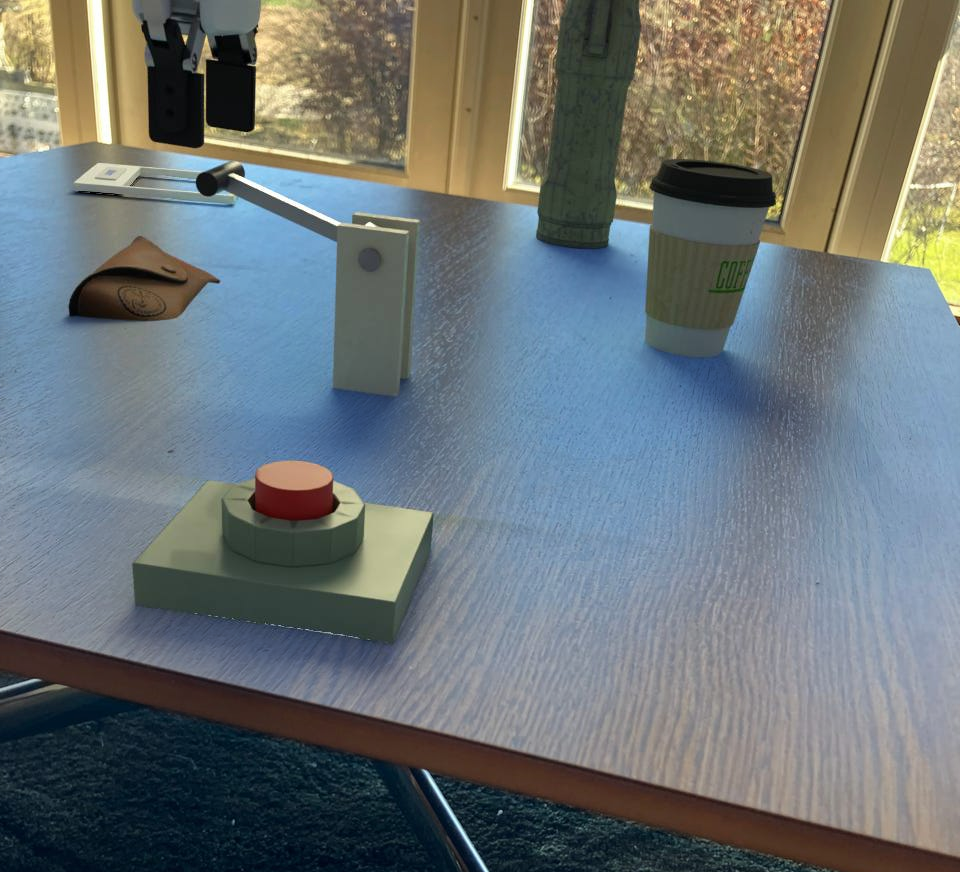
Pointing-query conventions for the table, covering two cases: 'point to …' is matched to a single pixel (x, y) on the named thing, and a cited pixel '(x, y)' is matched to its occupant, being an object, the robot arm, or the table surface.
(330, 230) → the lever
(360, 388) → the bracket
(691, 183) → the coffee cup
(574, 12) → the thermos
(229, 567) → the control block
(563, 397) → the table surface
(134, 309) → the sunglasses case
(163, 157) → the table surface
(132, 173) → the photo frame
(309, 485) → the button
